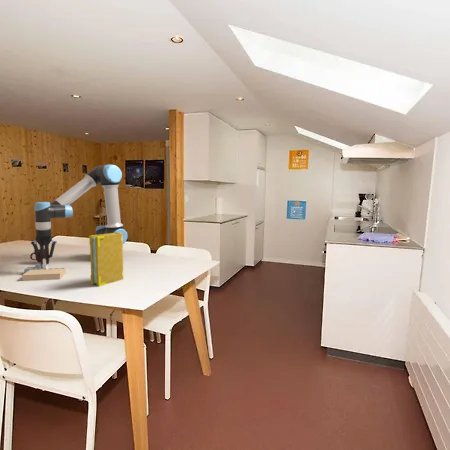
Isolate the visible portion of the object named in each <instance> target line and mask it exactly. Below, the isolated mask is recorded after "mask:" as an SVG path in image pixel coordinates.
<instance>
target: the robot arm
mask: <svg viewBox="0 0 450 450" xmlns="http://www.w3.org/2000/svg"><path fill="white" fill-rule="evenodd" d="M122 176H123V173H122V171H121V168H120V167H118V166H117V165H116V164H110V163H109V164H101V165H97V166H96V167H94V168H93V169H91V170H90V171H88V172H87V173H85V175H84V177H83V178H82V179H81V180H80V181H79V182H76V183H75V184H74V185H73V186H71V187H70V188H69V189H68V190H67V191H65V192H64V193H62V194H61V195H60V196H59V197H58V198H56V199H54V200H52V202H51V203H50V202H49V201H38V202H37V201H36V202H35V203H34V219H35V223H34V224H35V229H36V230H35V236H36V237H35V239H34V240H32V241H30V244H31V245H32V247H33V249H34V250H35V253H36V256H37V258H40V259H41V264H42V265H43V269H48V265H49V264H50V258H52V257H53V254H54V251H55V247H56V245H57V240H54V239H53V237H52V229H51V228H52V223H51V222H52V219H67V218H71V217H73V215H74V211H73V210H74V209H73V207H72V206H71V204H72V203H74V202H75V201H77V200H78V199H80V198H81V196H83V195H84V194H85V193H87V191H90V189H92V188H93V187H97V186H98V185H100V187H102V188H103V192H104V204H105V212H106V223H107V224H106V225H98V226H96V228H95V235H101V234H109V233H123V245H124V244H125V243H127V242H126V241H127V239H128V232H127V231H126V230H125V228H124V224H123V223H121V209H120V201H119V200H120V199H119V190H118V187H119V186H120V185H121V184H120V181H121V180H122ZM50 244H51V247H50V248H49V246H50ZM38 246H39V247H40V253H39V249H38V248H39V247H38ZM44 247H45V258H44ZM34 250H33V251H34Z"/></svg>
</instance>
